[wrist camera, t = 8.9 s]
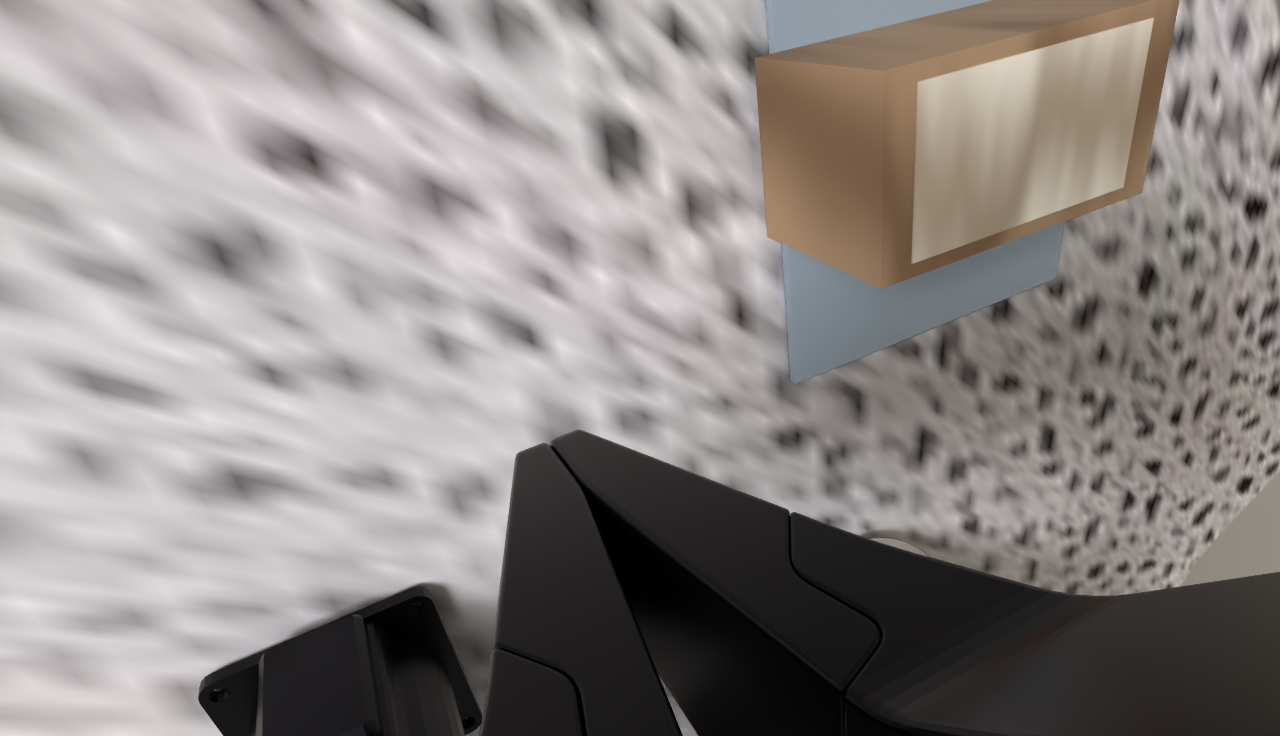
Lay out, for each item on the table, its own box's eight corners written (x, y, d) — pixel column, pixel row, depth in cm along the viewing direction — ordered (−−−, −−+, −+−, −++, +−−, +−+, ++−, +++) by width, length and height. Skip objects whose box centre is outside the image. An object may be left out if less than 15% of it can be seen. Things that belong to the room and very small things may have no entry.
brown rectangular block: (767, 236, 22) (996, 161, 24) (882, 290, 18) (1143, 192, 20) (754, 57, 19) (1011, -5, 22) (886, 70, 15) (1183, -8, 18)
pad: (1049, 275, 28) (1056, 278, 28) (790, 380, 25) (795, 383, 25) (1120, -249, 20) (1130, -252, 20) (752, -201, 17) (760, -205, 17)
